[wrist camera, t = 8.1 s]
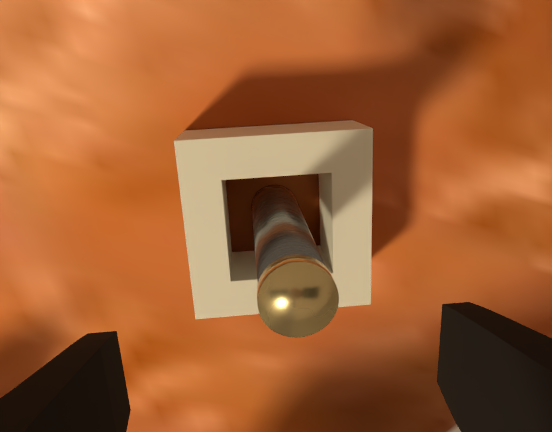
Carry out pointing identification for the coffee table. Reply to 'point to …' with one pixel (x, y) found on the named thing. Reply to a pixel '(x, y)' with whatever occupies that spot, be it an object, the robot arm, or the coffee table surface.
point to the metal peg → (289, 267)
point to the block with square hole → (269, 163)
